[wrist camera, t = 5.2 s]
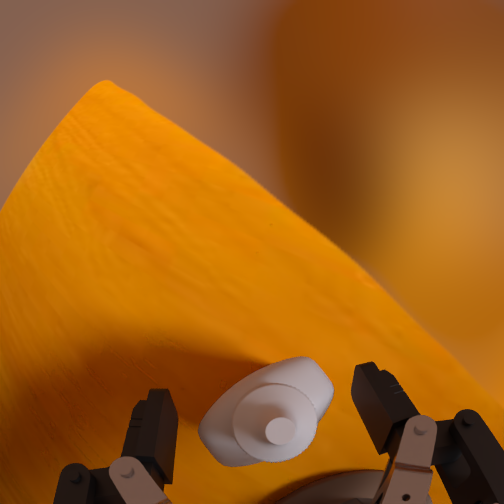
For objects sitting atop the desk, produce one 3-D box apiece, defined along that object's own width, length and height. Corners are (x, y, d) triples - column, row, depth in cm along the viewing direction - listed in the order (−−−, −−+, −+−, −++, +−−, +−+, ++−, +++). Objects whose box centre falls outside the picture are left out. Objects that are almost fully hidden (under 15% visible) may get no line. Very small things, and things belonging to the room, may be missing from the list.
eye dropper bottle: (211, 374, 17) (152, 351, 7) (300, 364, 18) (377, 324, 7) (218, 440, 15) (172, 514, 5) (308, 429, 16) (398, 479, 5)
